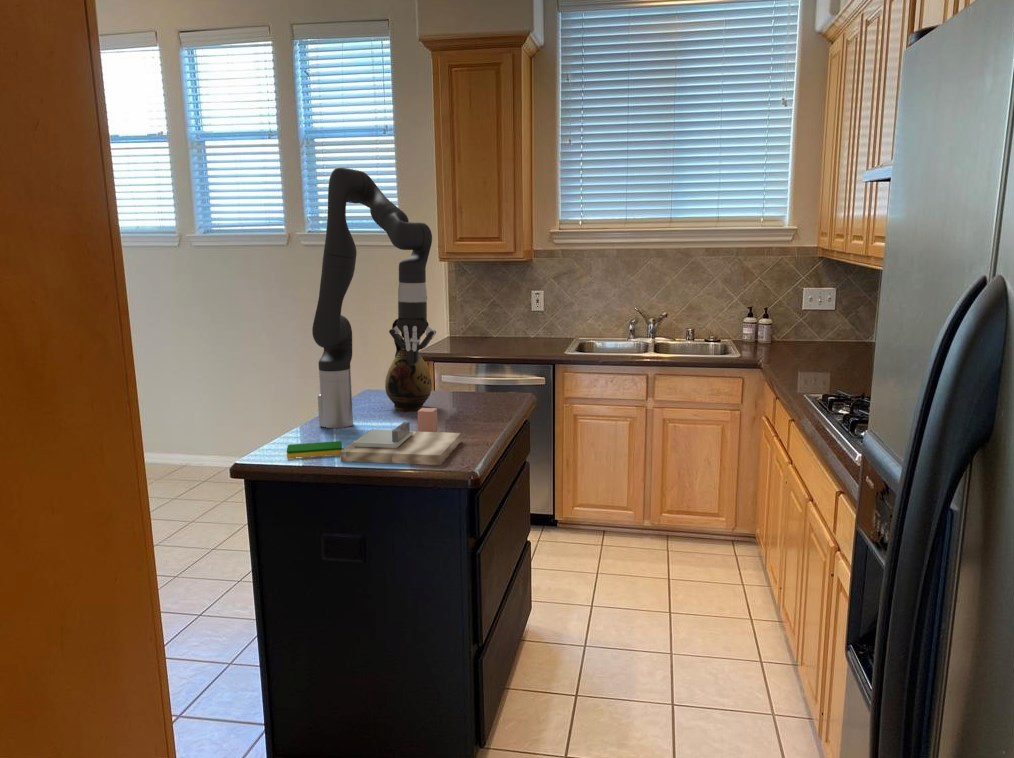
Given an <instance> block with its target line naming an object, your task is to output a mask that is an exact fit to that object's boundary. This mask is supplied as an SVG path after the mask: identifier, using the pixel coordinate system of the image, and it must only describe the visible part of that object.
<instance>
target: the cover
mask: <svg viewBox="0 0 1014 758" xmlns="http://www.w3.org/2000/svg"><path fill="white" fill-rule="evenodd" d="M410 424H411V423H410V422H409V421H403V422H401V424H398V426H397V427H396V428H394V429H378V428H377V429H374V428H373V429H372V428H371V429H370V430H371V431H370V430H369V432H368V431H367V432H368V433H367V432H365V433H364V434H365V435H364V434H363V435H364V436H363V435H361V436H362V437H361V436H360V437H361V438H360V437H358V438H359V439H358V438H357V439H358V440H357V439H355V440H354V441H355V442H354V441H353V442H354V446H357V447H383V448H399V447H400V446H401V444H402V443H403V442H404V441H405V440H407V439H408V438H409V437H410V436H411V435H412V434H413V430H410V427H411V426H410Z"/></svg>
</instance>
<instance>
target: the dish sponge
mask: <svg viewBox="0 0 1014 758" xmlns="http://www.w3.org/2000/svg"><path fill="white" fill-rule="evenodd" d="M342 450H343V442H342V441H341V440H338V441H322V442H320V441H319V442H308V443H306V442H305V443H295V444H293V443H291V444H287V448H286V459H287V458H294V459H297V458H296V457H308V458H312V457H311V456H322V457H326V456H325V455H335V456H340V451H342Z"/></svg>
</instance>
